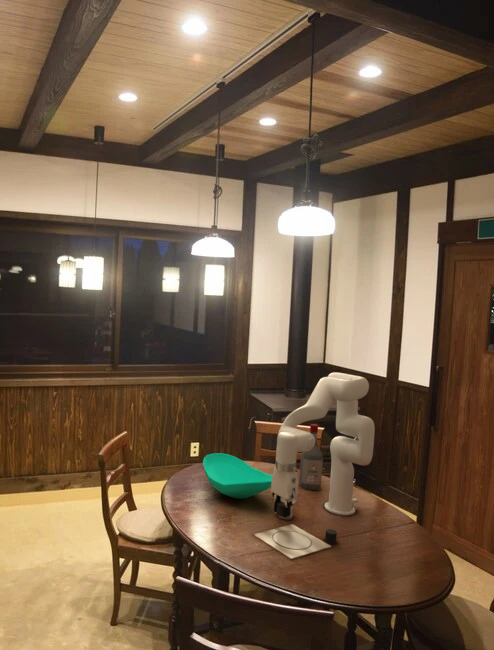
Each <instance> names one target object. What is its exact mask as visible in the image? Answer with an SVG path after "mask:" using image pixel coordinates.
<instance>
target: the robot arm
mask: <svg viewBox="0 0 494 650" xmlns="http://www.w3.org/2000/svg"><path fill="white" fill-rule="evenodd" d="M369 389H370V384H369V381H368V379H367V378H366V377H363V376H359V375H354V374H350V373H349V374H348V373H343V372H331V373H329V374H328V375H327V376H323V377H322V378H320V379H319V381H318V382H317V384H316V386H315V387H314V388H313V390H312V393H311V394H310V396H309V398H308V400H307V402H306V403H305V404H304V405H302V406H300V407H298V408H296V409H295V410H293V411H292V412H290V413H289V414H288V415H287V416H286V417H285V418H284V421H283V422H282V424H281V426H280V428H279V430H278V433H277V436H276V437H277V438H276V448H275V449H276V452H275V465H274V468H273V472H272V474H271V475H272V482H271V487H270V488H269V491H270V493H271V495H272V497H273V498H272V499H273V504H274V505H273V512H274V513H276V512H277V503H278V502H282V501H280V500H281V497H283V498H284V502H285V506H284V507H283V517H284V518H285V517H289V516H290V510H291V506H292V505H293V504H294V505H295V504H297V503H299V500H298V497H299V478H298V477H299V475H298V468H297V457H298V453H301V452H307V451H310V450H311V449H312V448H313V447H314V445H315V438H314V436H313V435H312V434H311V433H310V431H307V430H306V431H305V430H302V429H299V428H297V427H298V426H299V425H301V424H303V423H305V422H308V421H313V420H319V419H322V418H324V417H326V415H327V414H328V412H329V410H330V408H331V406H332V404H333V402H334V401H336V414H335V429H336V431H337V432H338V433H340V434H342V435H337V436H335V437H334V438H332V439H331V441H330V444H329V447H330V448H329V449H330V450H329V451H330V460H331V461H330V462H331V463H330V464H331V465H330V467H331V468H330V476H329V478H330V479H329V490H328V491H329V492H328V501H326V502H325V503H324V509H325V510H327V512H329V513H331V514H334V515H337V516H352V515H355V512H356V509H355V507H354V504H355V505H356V504H358V503H359V499H358V498H353V493H354V481H355V479H354V478H355V468H354V465H353V464H355V465H360V466H364V467H365V466H369V465H370V464H371V462H372V460H373V455H374V447H375V434H376V433H375V432H376V431H375V430H376V427H375V422H374V420H373V419H372V418H371V417H369V416H365V415H362V414H359V411H358V410H359V400H360V399H362V398H364V397H365V396H367V394H368V392H369ZM344 435H346V436H344ZM347 436H348V437H347ZM352 437H353V438H352ZM354 438H356V439H354ZM296 470H297V472H296ZM288 500H289V502H288Z"/></svg>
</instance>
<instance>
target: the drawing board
mask: <svg viewBox="0 0 494 650" xmlns="http://www.w3.org/2000/svg"><path fill="white" fill-rule="evenodd" d="M253 536H254V537H256V538H257V539H259V540H261V542H263V543H265V544H266V545H268V546H269V547H271V548H273V549H274V550H276V551H277V552H279V553H280V554H281V555H283V556H285V557H287V558H288V559H290V560H294V559H298V558H301V557H304V556H307V555H310V554H314V553H318V552H320V551H323V550H324V551H325V550H327V549H330V548H332V545H331V544H328V543H326V542H325V541H323V540H321V539H320V538H318V537H316V536H314V535H313V534H311V533H309V532H307V531H306V530H304V529H301V528H300V527H298V526H297V525H295V524H292V523H291V524H288V525H283V526H280V527H276V528H272V529H268V530H264V531H260V532H256V533H253Z"/></svg>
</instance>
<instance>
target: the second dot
mask: <svg viewBox="0 0 494 650" xmlns="http://www.w3.org/2000/svg"><path fill="white" fill-rule="evenodd" d="M337 537H338V532H337V531H336V530H335V529H332V528H327V529H326V530H325V536H324V542H325V543H326V544H328V545H336V544H337V539H338V538H337Z"/></svg>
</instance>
